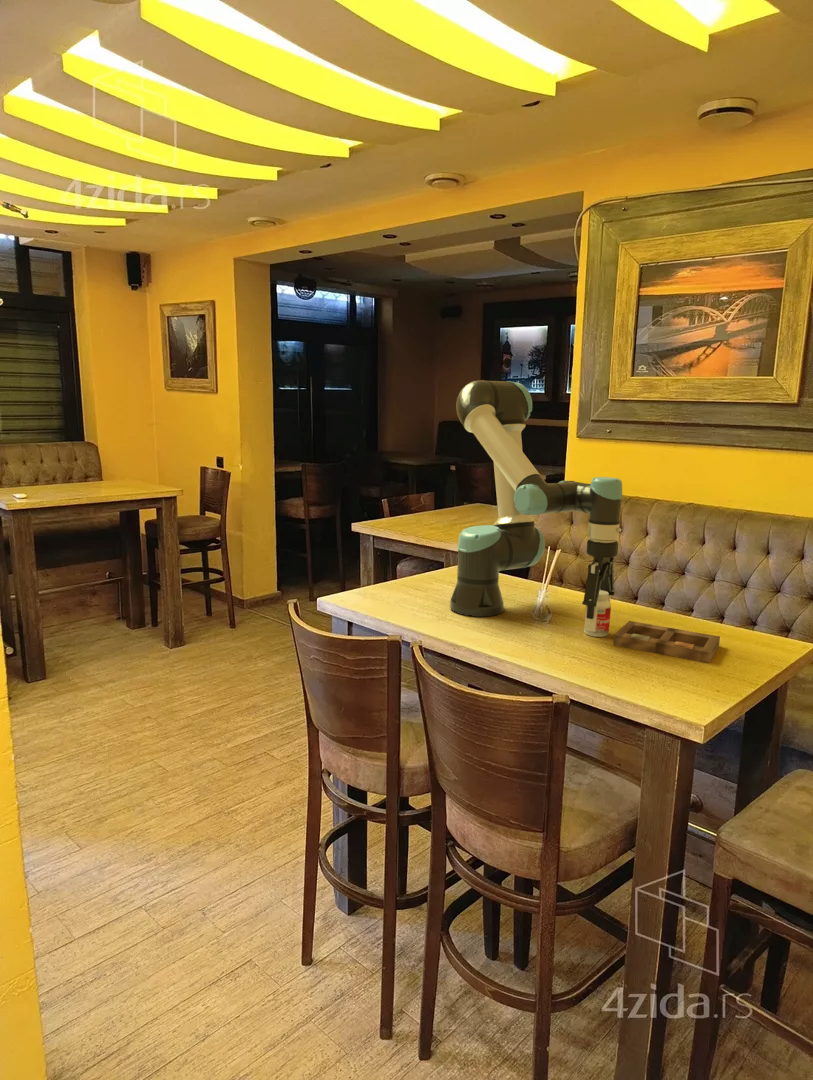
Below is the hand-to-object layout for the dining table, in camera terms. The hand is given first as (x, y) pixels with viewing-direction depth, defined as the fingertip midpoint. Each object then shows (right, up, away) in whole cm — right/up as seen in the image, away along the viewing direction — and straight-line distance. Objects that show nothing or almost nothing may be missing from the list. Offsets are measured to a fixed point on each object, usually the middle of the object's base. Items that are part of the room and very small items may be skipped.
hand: (596, 624), depth 179 cm
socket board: (+15, -4, -7) cm, 17 cm away
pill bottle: (0, -3, +1) cm, 3 cm away
